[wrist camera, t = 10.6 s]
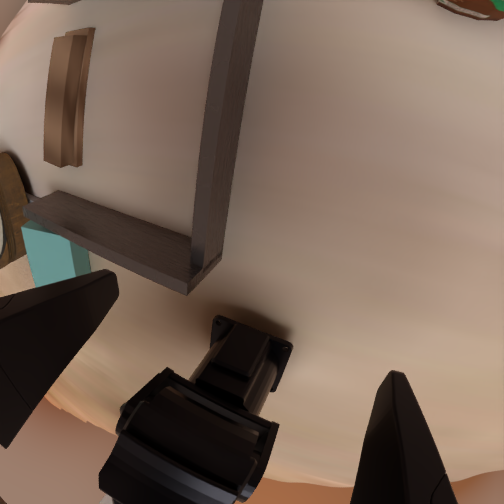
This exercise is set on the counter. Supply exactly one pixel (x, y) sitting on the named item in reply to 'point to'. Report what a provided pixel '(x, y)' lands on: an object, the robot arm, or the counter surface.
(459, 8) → the food container
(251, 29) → the rack
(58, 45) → the offcut top
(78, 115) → the board
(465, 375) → the counter surface
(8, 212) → the wooden container
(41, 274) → the block
